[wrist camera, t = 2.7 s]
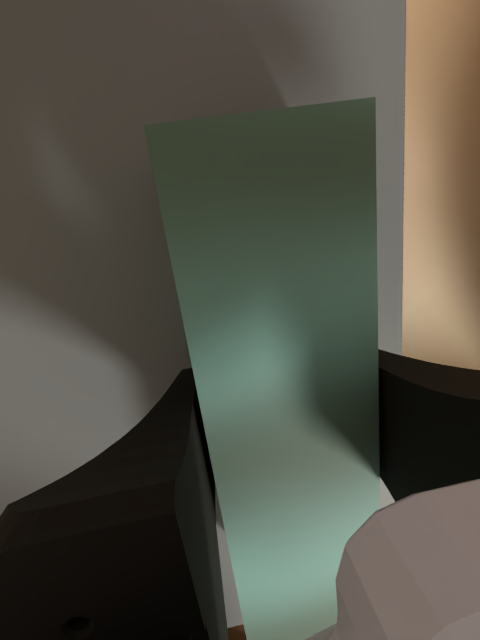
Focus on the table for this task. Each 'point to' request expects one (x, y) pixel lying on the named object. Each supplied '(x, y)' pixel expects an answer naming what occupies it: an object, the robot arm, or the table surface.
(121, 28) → the board
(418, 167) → the table surface
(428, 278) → the table surface
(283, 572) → the beam
